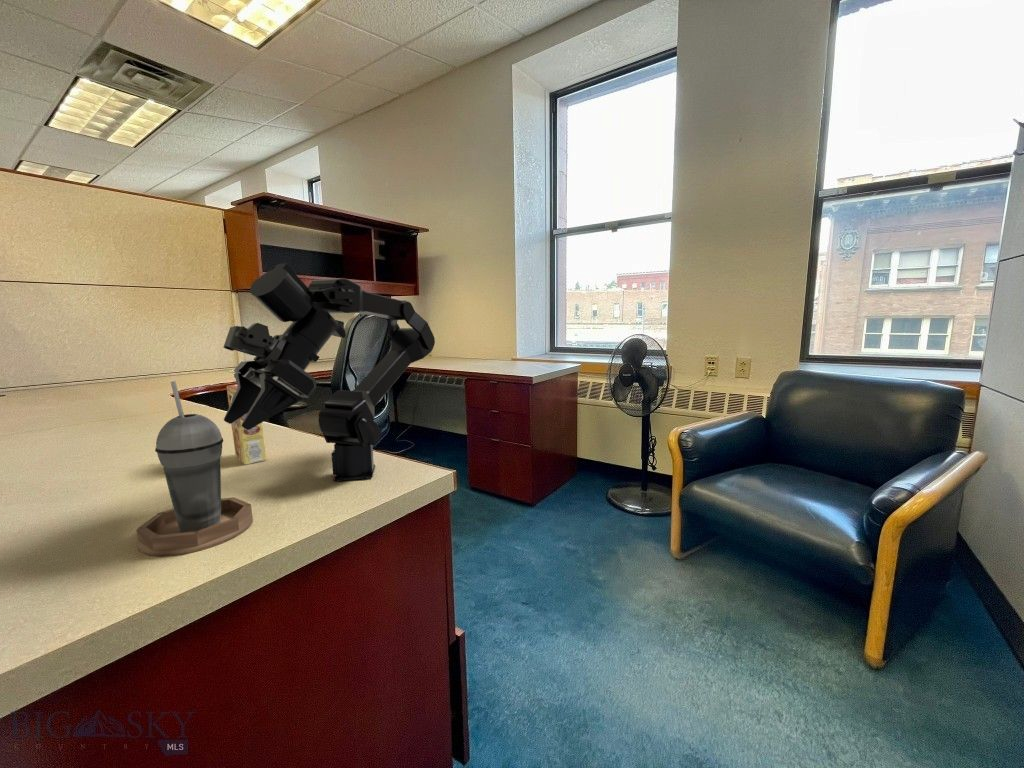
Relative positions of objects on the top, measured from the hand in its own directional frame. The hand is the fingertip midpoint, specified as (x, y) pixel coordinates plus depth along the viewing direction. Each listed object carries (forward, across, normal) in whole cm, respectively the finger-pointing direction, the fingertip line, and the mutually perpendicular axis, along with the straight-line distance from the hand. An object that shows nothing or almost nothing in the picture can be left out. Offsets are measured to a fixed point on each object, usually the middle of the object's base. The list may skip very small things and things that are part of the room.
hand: (235, 425), depth 62 cm
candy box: (+3, -30, +14) cm, 34 cm away
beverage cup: (+14, +1, +5) cm, 14 cm away
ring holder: (+14, 0, +5) cm, 15 cm away
